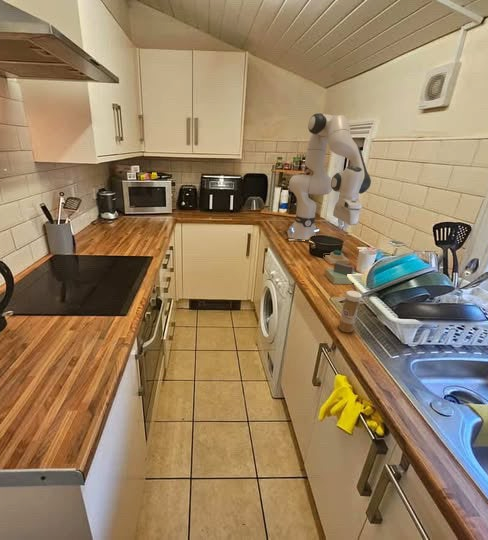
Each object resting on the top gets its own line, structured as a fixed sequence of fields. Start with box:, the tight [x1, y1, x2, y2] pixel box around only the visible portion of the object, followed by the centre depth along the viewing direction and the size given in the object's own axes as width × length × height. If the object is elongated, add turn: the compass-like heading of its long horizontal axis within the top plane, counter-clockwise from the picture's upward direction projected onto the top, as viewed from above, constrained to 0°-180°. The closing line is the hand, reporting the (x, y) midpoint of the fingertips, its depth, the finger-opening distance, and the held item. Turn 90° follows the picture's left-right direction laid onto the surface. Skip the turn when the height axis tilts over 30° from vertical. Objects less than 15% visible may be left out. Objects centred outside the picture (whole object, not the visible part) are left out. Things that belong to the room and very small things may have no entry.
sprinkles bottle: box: [338, 290, 363, 333], centre depth 97 cm, size 5×5×14 cm
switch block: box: [322, 251, 351, 265], centre depth 157 cm, size 10×10×4 cm
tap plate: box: [324, 268, 357, 285], centre depth 136 cm, size 12×12×3 cm
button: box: [333, 249, 342, 255], centre depth 156 cm, size 4×4×2 cm
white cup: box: [355, 248, 378, 274], centre depth 144 cm, size 8×8×10 cm
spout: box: [333, 262, 355, 275], centre depth 135 cm, size 8×2×4 cm, turn 47°
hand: (342, 229), depth 151 cm, fingers open, 3 cm apart
